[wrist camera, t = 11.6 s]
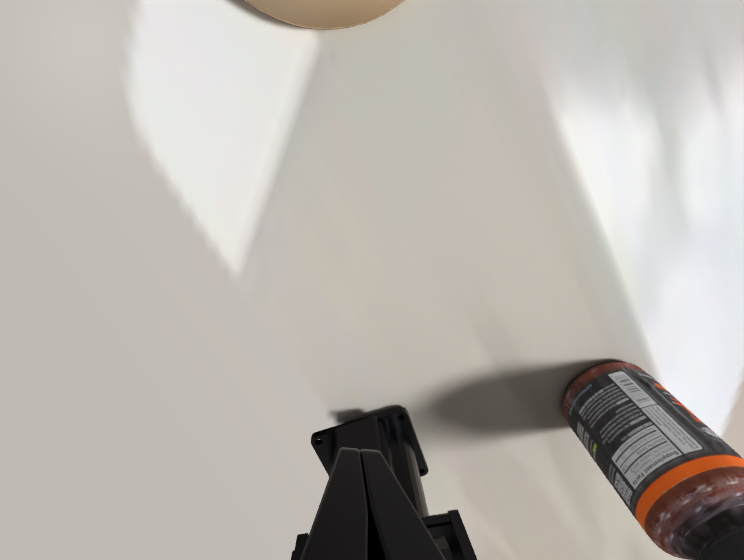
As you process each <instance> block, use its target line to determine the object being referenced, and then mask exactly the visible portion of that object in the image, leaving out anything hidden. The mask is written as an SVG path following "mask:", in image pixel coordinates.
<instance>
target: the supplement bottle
mask: <svg viewBox="0 0 744 560" xmlns="http://www.w3.org/2000/svg"><path fill="white" fill-rule="evenodd" d="M563 413H564V416H565V418H566V420H567V422H568V423H569V425H570V427H571V428H572V430H573V431H574V432H575V434H576V435H577V437H578V438H579V440H580V441H581V442H582V444H583V445H584V447H585V448H586V449H587V451H588V452H589V454H590V455H591V457H592V458H593V459H594V461H595V462H596V463H597V465H598V466H599V468H600V469H601V471H602V472H603V473H604V475H605V476H606V478H607V479H608V480H609V482H610V483H611V485H612V486H613V487H614V489H615V490H616V492H617V493H618V494H619V496H620V497H621V499H622V500H623V501H624V503H625V504H626V506H627V507H628V508H629V510H630V511H631V513H632V514H633V516H634V517H635V518H636V520H637V521H638V522H639V524H640V525H641V527H642V528H643V529H644V531H645V532H646V533H647V535H648V536H649V537H650V538H651V540H652V541H653V542H654V543H655V544H656V545H657V546H658V547H659V548H660V549H662V550H663V551H665V552H666V553H668V554H670V555H672V556H675V557H678V558H682V559H688V560H744V459H742V457H741V456H740V455H739V454H738V453H737V452H735V451H734V450H733V449H732V448H731V447H730V446H729V445H728V444H726V443H725V442H724V441H723V440H722V439H721V438H720V437H719V436H717V435H716V434H715V433H714V432H713V431H712V430H711V429H710V428H709V427H708V426H706V425H705V424H704V423H703V422H701V421H700V420H699V419H698V418H697V417H696V416H695V415H694V414H693V413H692V412H690V411H689V410H688V409H687V408H686V407H685V406H684V405H682V403H680V402H679V401H678V400H677V399H676V398H675V397H674V396H673V395H671V394H670V393H669V392H668V391H667V390H666V389H665V388H663V387H662V386H661V385H660V384H659V383H658V382H657V381H656V380H655V379H654V378H653V377H652V376H650V375H649V374H647V373H646V372H645V371H644V370H642V369H641V368H639V367H638V366H636V365H633V364H631V363H626V362H611V363H605V364H602V365H599V366H595V367H593V368H591V369H589V370H587V371H586V372H585V373H583V374H582V375H580V376H579V377H577V379H576V380H575V381H574V382H573V383H572V384H571V385H570V386H569V387H568V390H567V391H566V394H565V396H564V399H563Z"/></svg>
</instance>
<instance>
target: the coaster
mask: <svg viewBox="0 0 744 560" xmlns="http://www.w3.org/2000/svg"><path fill="white" fill-rule="evenodd" d="M245 1H246V2H248V3H249V4H251V5H252V6H254V7H255V8H256V9H258V10H260V11H262V12H264V13H266V14H268V15H270V16H271V17H273V18H275V19H278V20H281V21H284V22H286V23H289V24H292V25H296V26H301V27H306V28H311V29H328V30H331V29H340V28H349V27H352V26H356V25H360V24H363V23H366V22H369V21H371V20H373V19H375V18H378V17H380V16H382V15H384V14H385V13H387V12H388V11H390V10H392V9H393V8H395V7H396V6H398V5H399V4H400V3H401V2H403V1H404V0H245Z"/></svg>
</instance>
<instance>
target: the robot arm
mask: <svg viewBox="0 0 744 560" xmlns="http://www.w3.org/2000/svg"><path fill="white" fill-rule="evenodd" d="M398 415H401V416H398ZM317 439H320V440H317ZM311 444H312V446H313V448H314V450H315V451H316V453H317V455H318V457H319V459H320V461H321V462H322V464H323V466H324V468H325V470H326V471H327V473H328V475H329V480H328V483H327V486H326V489H325V492H324V494H323V497H322V500H321V503H320V505H319V509H318V511H317V514H316V517H315V520H314V522H313V525H312V529H311V531H310V534H309V535H308V533H305V534H299V535H298V536H297V540H296V546H295V550H294V551H293V552H292V557H291V560H477V558H476V555H475V553H474V550H473V548H472V545H471V542H470V540H469V537H468V535H467V532H466V530H465V527H464V525H463V522H462V519H461V517H460V514H459V512H458V510H451V511H448V513H444V514H438V515H431V516H429V513H428V509H427V505H426V500H425V496H424V492H423V487H422V483H421V478H420V477H421V476H424V475H426V474H427V473H428V467H427V464H426V461H425V458H424V455H423V453H422V450H421V447H420V444H419V442H418V439H417V436H416V433H415V431H414V428H413V425H412V422H411V420H410V417H409V414H408V412H407V410H406V409H405V408H403V407H398V408H395V409H391V410H388V411H385V412H381V413H378V414H375V415H371V416H368V417H365V418H361V419H358V420H355V421H351V422H348V423H345V424H341V425H338V426H335V427H331V428H328V429H325V430H322V431H318V432H315V433H314V434H312V437H311Z"/></svg>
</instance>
